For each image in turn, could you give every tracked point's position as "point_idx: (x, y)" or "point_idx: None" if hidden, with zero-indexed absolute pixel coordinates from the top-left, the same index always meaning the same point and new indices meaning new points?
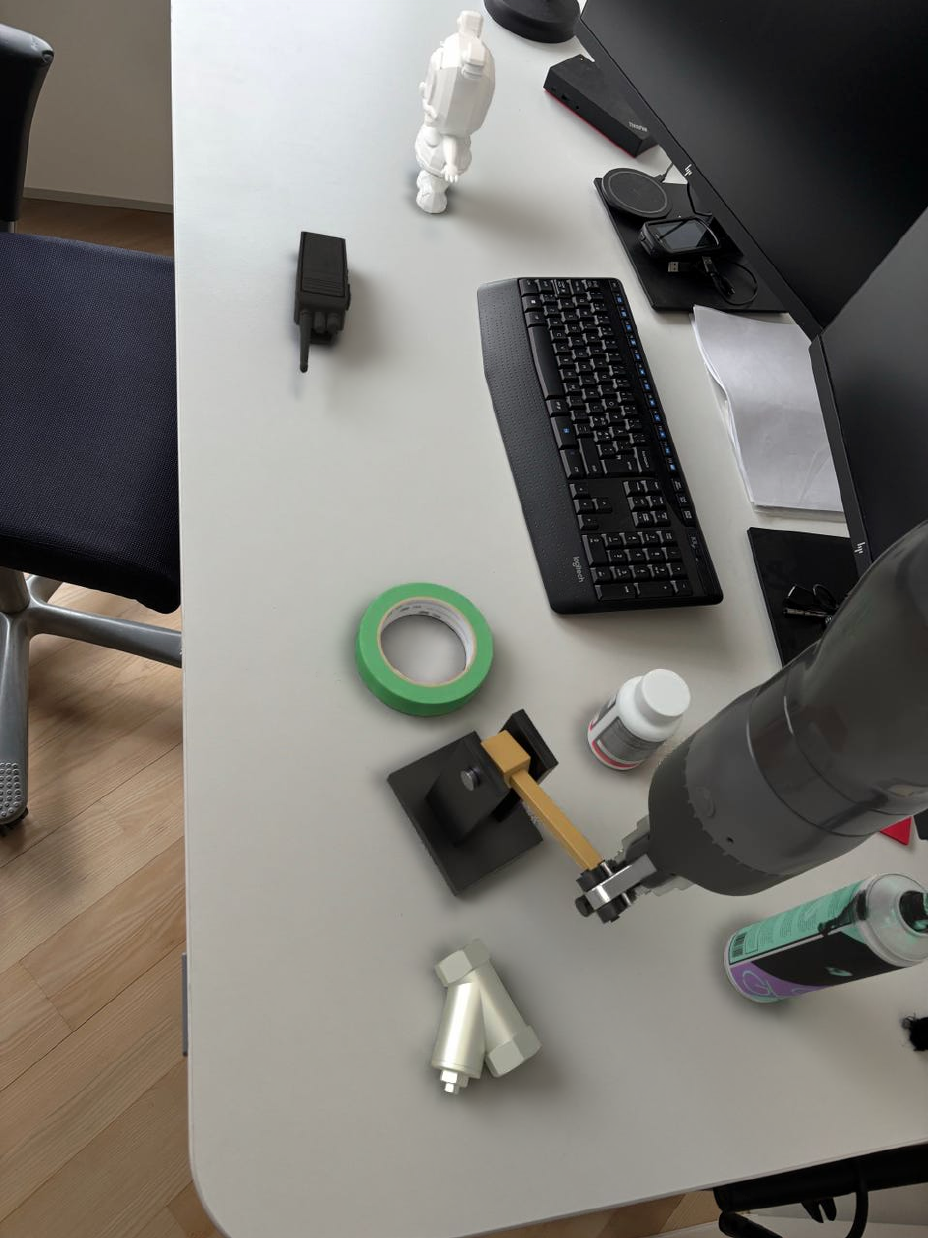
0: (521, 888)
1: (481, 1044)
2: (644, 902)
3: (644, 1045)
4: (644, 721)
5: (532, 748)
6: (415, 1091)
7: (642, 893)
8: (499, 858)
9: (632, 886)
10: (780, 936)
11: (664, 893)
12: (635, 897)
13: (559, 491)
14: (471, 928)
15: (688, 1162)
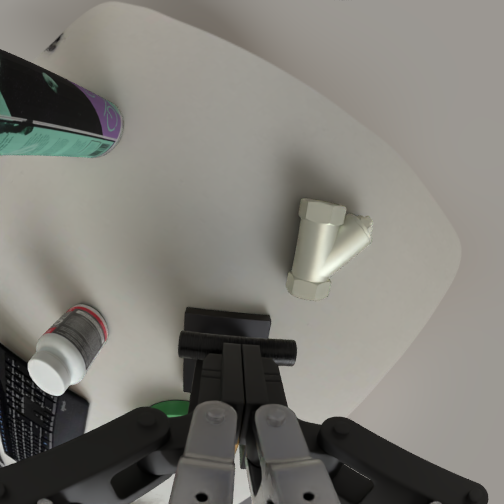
0: (221, 290)
1: (343, 234)
2: (139, 221)
3: (218, 137)
4: (69, 362)
5: None
6: (374, 231)
7: (301, 431)
8: (226, 322)
9: (319, 455)
10: (68, 141)
11: (334, 489)
12: (337, 450)
13: (58, 432)
14: (274, 290)
15: (250, 63)
